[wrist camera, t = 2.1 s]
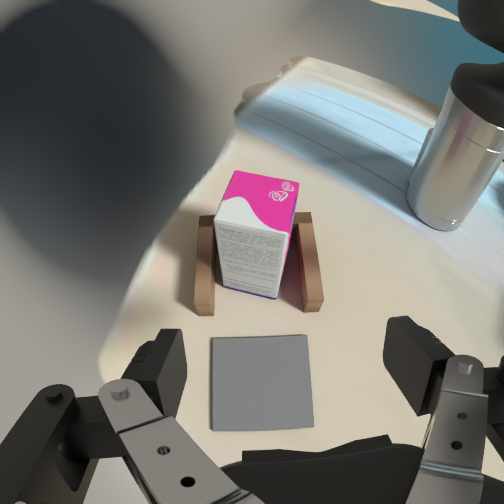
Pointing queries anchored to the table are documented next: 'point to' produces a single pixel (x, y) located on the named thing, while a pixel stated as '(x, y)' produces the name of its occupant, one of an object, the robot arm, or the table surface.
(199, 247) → the walnut frame
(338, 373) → the table surface
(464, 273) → the table surface
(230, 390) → the gray mat
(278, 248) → the supplement box
